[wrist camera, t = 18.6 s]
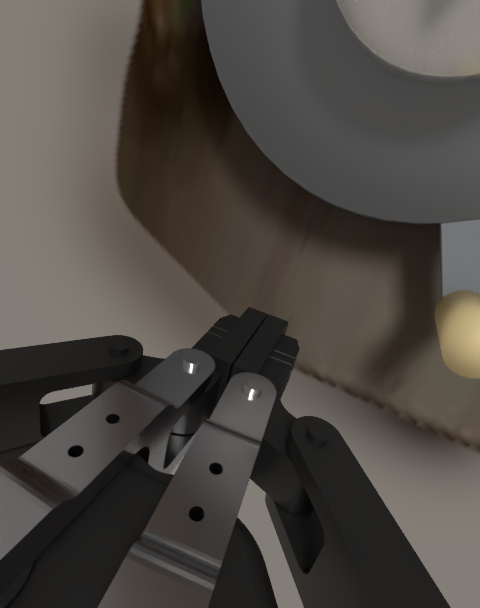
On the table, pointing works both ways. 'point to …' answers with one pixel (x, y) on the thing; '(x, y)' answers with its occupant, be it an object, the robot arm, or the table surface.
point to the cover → (419, 37)
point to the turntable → (360, 137)
